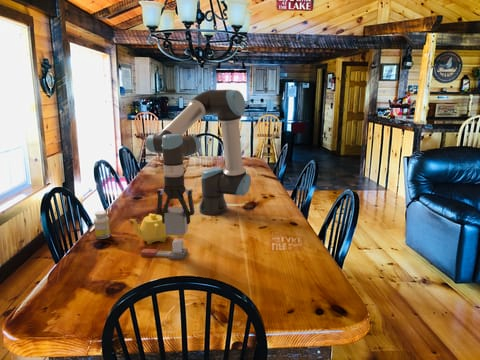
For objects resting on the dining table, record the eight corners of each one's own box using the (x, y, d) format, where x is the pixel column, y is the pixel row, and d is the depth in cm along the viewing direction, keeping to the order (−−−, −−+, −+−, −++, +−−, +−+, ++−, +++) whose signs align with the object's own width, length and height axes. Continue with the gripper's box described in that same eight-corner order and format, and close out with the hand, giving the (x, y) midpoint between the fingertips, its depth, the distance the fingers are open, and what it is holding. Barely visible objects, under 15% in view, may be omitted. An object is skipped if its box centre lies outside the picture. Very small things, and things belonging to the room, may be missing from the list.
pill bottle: (107, 232, 176) (104, 209, 173) (113, 236, 172) (110, 212, 169) (93, 236, 172) (90, 212, 169) (99, 240, 167) (96, 216, 164)
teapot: (149, 232, 177) (147, 208, 174) (175, 235, 172) (174, 211, 169) (130, 243, 164) (128, 218, 161) (159, 248, 159) (157, 221, 156)
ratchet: (145, 250, 157) (144, 236, 155) (187, 251, 155) (186, 237, 154) (139, 258, 150) (138, 243, 148) (183, 259, 149) (183, 244, 147)
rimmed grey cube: (170, 228, 153) (169, 207, 151) (187, 228, 153) (186, 207, 150) (165, 234, 146) (164, 212, 144) (183, 235, 146) (182, 213, 144)
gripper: (145, 176, 141) (149, 234, 146) (197, 177, 139) (200, 235, 145) (151, 172, 148) (154, 227, 154) (201, 173, 147) (203, 228, 152)
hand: (176, 231), depth 149 cm, fingers closed on rimmed grey cube, 7 cm apart
